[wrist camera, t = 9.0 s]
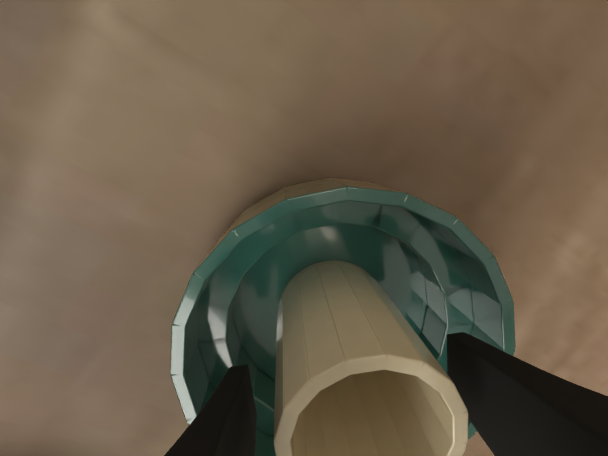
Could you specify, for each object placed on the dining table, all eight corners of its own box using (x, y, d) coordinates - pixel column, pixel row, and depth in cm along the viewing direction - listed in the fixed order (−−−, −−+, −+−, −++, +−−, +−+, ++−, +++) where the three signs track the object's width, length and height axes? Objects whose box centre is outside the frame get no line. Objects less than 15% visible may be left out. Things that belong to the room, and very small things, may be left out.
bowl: (236, 435, 18) (222, 526, 13) (168, 209, 15) (120, 232, 10) (463, 384, 18) (521, 459, 14) (441, 153, 15) (507, 152, 11)
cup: (285, 364, 16) (288, 533, 9) (270, 267, 15) (261, 373, 8) (386, 349, 17) (468, 502, 9) (380, 252, 15) (469, 342, 8)
